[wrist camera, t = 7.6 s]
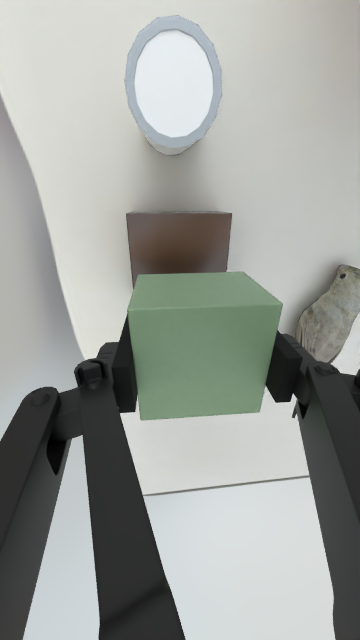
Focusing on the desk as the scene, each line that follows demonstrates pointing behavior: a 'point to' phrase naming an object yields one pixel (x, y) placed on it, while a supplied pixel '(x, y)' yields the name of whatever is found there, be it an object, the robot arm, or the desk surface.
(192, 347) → the green block
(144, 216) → the walnut block
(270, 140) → the desk surface
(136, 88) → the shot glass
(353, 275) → the decorative bird
